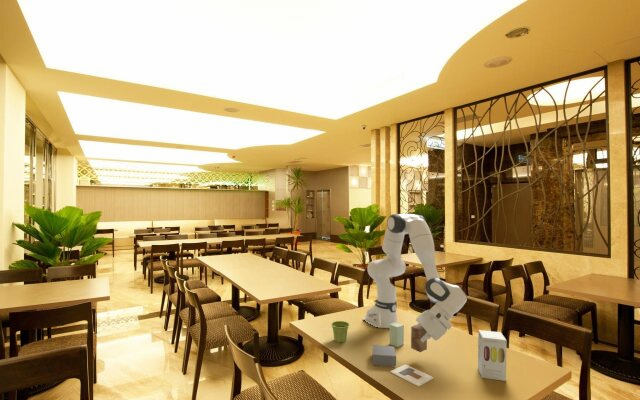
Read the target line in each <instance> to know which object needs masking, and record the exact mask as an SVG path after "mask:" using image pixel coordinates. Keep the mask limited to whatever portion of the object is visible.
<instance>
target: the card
mask: <svg viewBox="0 0 640 400" xmlns="http://www.w3.org/2000/svg"><path fill="white" fill-rule="evenodd" d="M390 373H391V374H393V375H395V376H397V377H398V378H401V379H403V380H405V381H406V382H408V383H410V384H413V385H415V386H416V387H422V386H423V385H425V384H426V383H429V382H430V381H432V380H434V377H433V376H431V375H430V374H427V373H425V372H423V371H420V370H419V369H417V368H414V367H412V366H410V365H408V364H403V365H401V366H398V367H397V368H395V369H392V370H390Z"/></svg>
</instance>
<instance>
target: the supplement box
mask: <svg viewBox="0 0 640 400" xmlns="http://www.w3.org/2000/svg"><path fill="white" fill-rule="evenodd" d="M477 337H478V342H477V344H478V345H477V346H478V347H477V352H478V353H477V369H478V372H479V374H480V376H481V378H483V379H489V380H498V381H503V382H506V381H507V350H508V349H507V342H508V341H507V339H506V337H505V336H504V335H503V333H502V332H500V331H491V330H481V329H479V330H478V336H477Z"/></svg>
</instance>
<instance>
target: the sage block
mask: <svg viewBox="0 0 640 400" xmlns="http://www.w3.org/2000/svg"><path fill="white" fill-rule="evenodd" d="M404 329H405V328H404V324H401V323H399V322H398V323H396V322H395V323H392V324H390V328H389V345H390V346H393V347H396V348H399V347H401V346H403V345H404V344H405V343H404V335H405V334H404V333H405V331H404Z"/></svg>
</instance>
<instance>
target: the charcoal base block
mask: <svg viewBox="0 0 640 400" xmlns="http://www.w3.org/2000/svg"><path fill="white" fill-rule="evenodd" d="M378 365H379V366H381V367H382V366H383V367H391V366H396V367H397V353H396V348H395V346H393V345H390V346H389V345H376V344H375V345H374V344H373V345H372V366H378Z"/></svg>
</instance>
